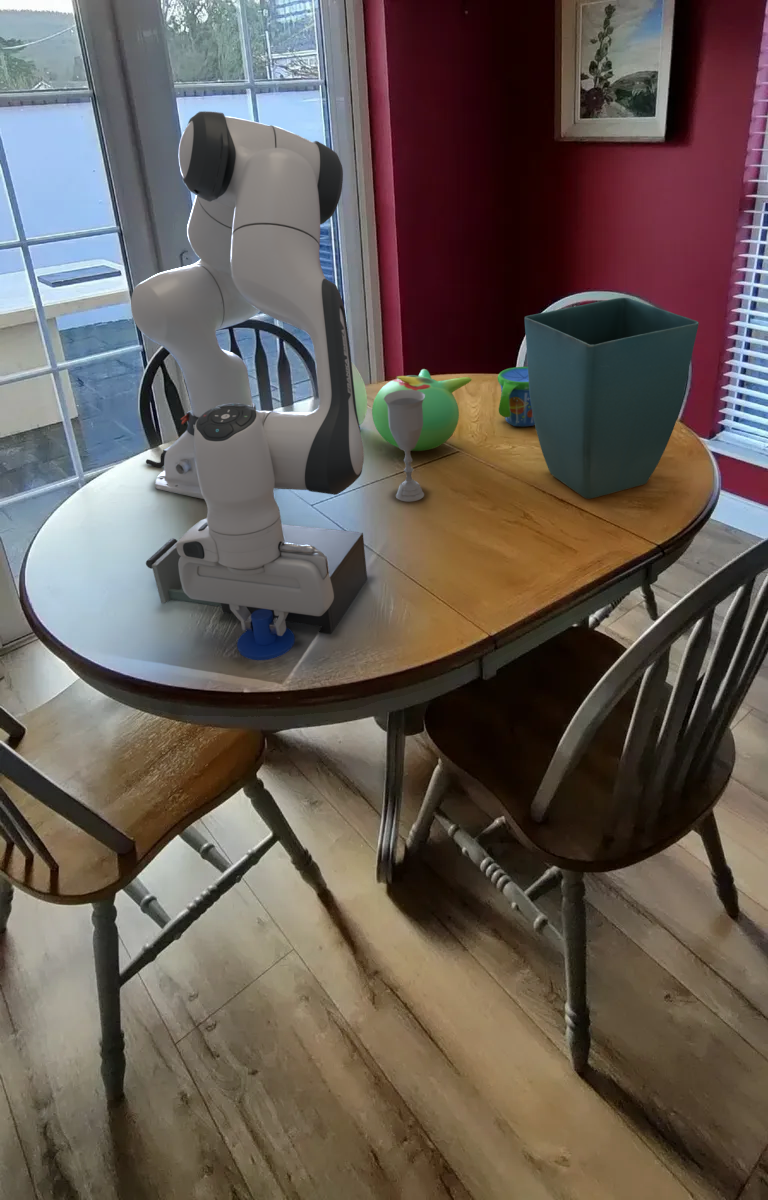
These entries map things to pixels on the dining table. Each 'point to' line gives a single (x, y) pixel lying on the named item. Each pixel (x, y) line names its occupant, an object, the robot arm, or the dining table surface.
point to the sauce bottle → (359, 394)
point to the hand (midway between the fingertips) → (264, 630)
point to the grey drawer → (170, 574)
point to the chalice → (406, 434)
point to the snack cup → (515, 397)
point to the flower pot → (606, 390)
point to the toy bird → (423, 408)
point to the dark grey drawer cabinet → (329, 571)
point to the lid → (264, 638)
